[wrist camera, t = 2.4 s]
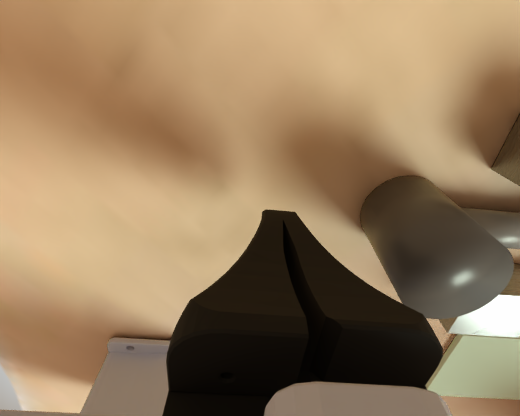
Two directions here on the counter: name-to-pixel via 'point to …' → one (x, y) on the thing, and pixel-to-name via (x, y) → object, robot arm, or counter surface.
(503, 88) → the counter surface
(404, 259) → the grey tapered rounded piece
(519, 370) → the plate
